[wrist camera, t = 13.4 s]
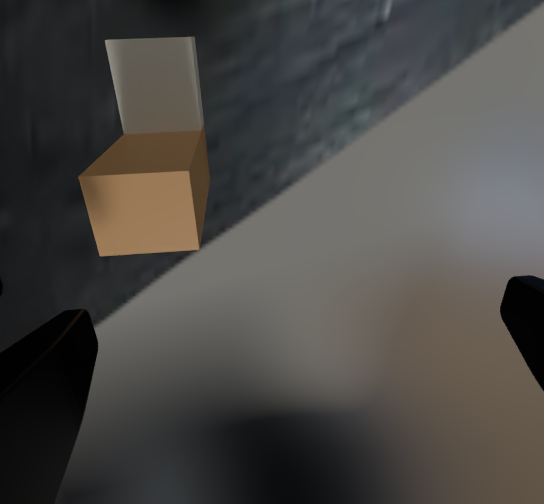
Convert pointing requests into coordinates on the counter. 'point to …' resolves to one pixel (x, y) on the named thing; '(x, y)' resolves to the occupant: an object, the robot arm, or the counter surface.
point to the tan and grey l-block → (151, 152)
